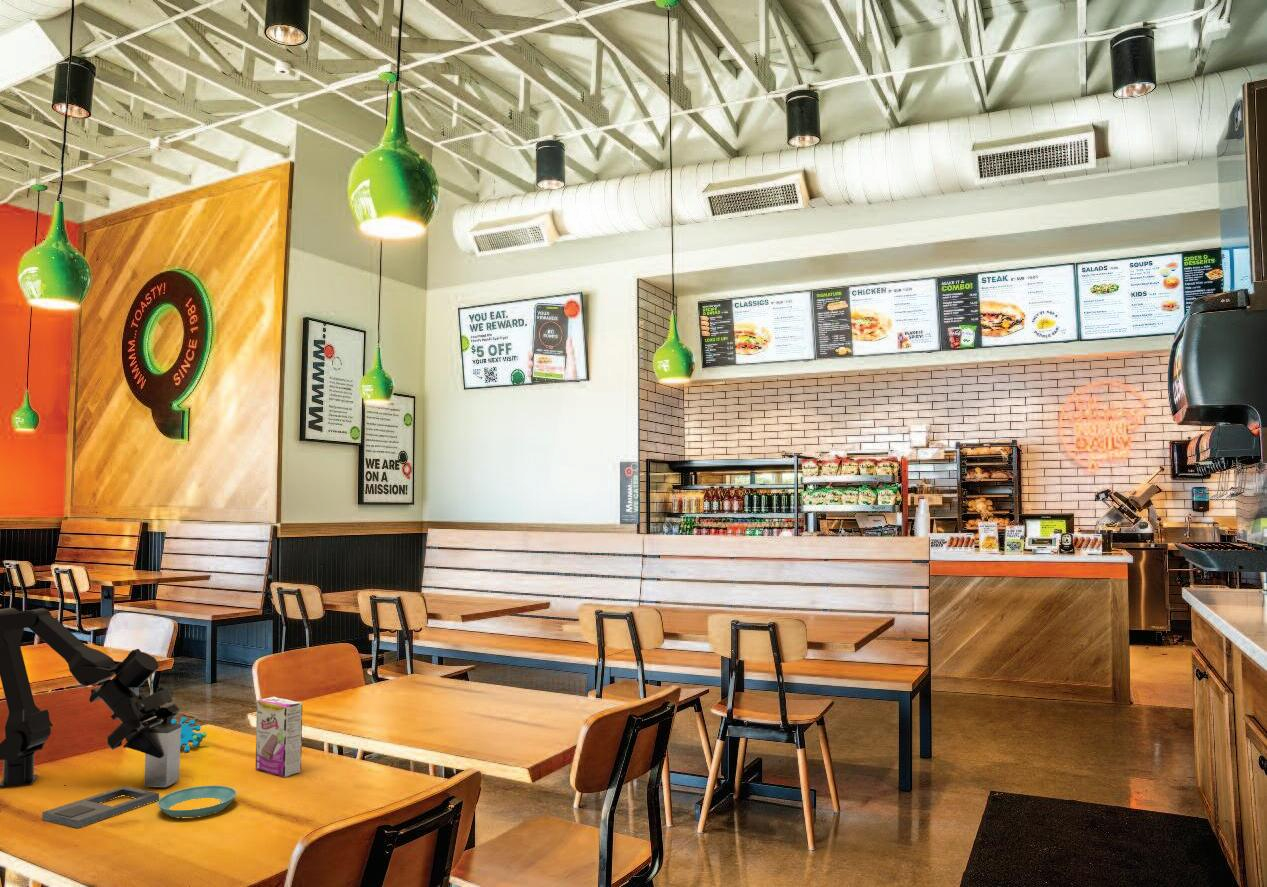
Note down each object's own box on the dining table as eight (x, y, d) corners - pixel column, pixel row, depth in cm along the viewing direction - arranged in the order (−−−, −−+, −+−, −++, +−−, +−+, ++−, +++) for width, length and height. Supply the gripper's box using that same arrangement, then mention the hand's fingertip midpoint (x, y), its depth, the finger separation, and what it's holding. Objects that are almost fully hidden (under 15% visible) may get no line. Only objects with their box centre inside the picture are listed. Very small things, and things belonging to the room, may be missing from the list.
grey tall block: (144, 786, 195) (146, 729, 196) (157, 779, 200) (159, 723, 201) (166, 787, 195) (168, 729, 196) (178, 780, 200) (181, 723, 201)
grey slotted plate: (42, 819, 177) (42, 811, 177) (124, 793, 193) (124, 785, 193) (77, 828, 172) (78, 820, 172) (159, 800, 188) (159, 792, 188)
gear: (154, 750, 219) (162, 714, 226) (153, 762, 223) (161, 727, 230) (202, 751, 223) (209, 716, 230) (201, 764, 227) (208, 729, 234)
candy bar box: (253, 770, 209) (255, 699, 210) (272, 765, 213) (274, 695, 214) (283, 778, 203) (285, 705, 204) (302, 772, 207) (304, 701, 208)
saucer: (139, 817, 179) (140, 804, 179) (198, 794, 193) (198, 782, 193) (195, 827, 174) (196, 813, 174) (252, 802, 188) (252, 790, 188)
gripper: (122, 685, 190) (170, 739, 188) (173, 668, 208) (216, 717, 207) (85, 722, 190) (132, 776, 189) (139, 701, 208) (183, 750, 207)
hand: (168, 753), depth 198 cm, fingers closed on grey tall block, 5 cm apart
